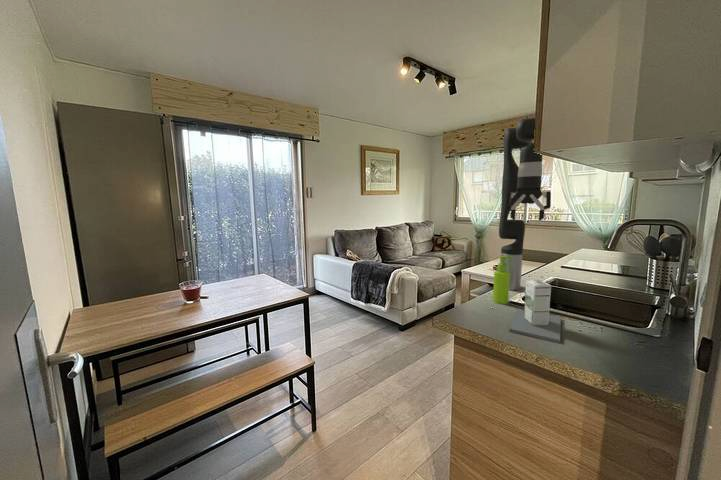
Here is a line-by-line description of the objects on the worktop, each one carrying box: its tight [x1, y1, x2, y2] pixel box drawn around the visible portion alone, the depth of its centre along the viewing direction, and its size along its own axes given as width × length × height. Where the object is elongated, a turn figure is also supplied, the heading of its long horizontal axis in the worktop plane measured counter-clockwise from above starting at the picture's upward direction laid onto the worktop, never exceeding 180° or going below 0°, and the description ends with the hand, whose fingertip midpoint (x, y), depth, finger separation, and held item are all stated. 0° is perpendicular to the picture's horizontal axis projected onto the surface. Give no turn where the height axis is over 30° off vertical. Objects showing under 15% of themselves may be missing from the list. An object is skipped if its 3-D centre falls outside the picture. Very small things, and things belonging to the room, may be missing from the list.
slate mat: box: [509, 308, 562, 344], centre depth 100 cm, size 20×14×1 cm
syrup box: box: [524, 279, 552, 325], centre depth 100 cm, size 6×6×14 cm
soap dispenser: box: [492, 255, 513, 305], centre depth 121 cm, size 6×7×20 cm
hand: (526, 220), depth 106 cm, fingers open, 8 cm apart
